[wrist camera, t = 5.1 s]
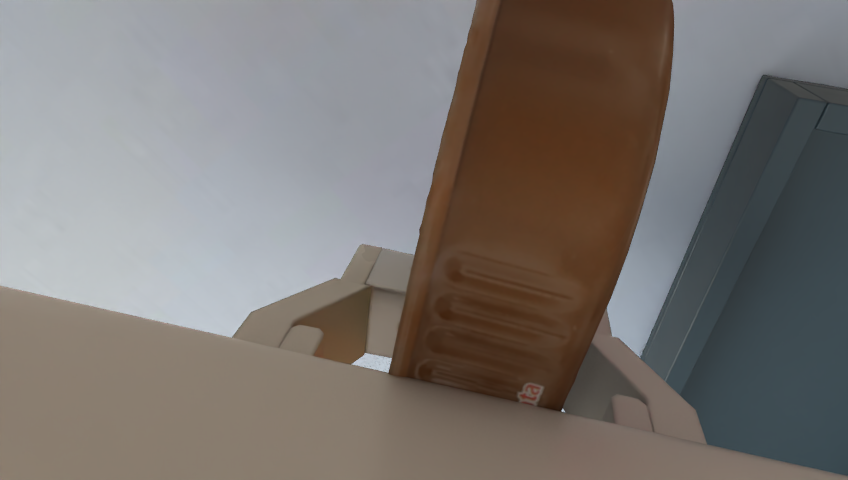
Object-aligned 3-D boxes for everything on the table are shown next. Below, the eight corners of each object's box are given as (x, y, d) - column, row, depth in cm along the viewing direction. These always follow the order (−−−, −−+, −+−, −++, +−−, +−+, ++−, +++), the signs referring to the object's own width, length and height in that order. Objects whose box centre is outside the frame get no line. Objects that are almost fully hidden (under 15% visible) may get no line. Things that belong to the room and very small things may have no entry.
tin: (515, -84, 12) (424, -120, 5) (659, -52, 12) (796, -38, 4) (399, 396, 20) (297, 661, 12) (484, 424, 19) (430, 713, 12)
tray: (589, 474, 28) (594, 529, 25) (762, 74, 18) (798, 97, 15) (830, 534, 27) (860, 598, 24) (1159, 141, 17) (1271, 178, 14)
